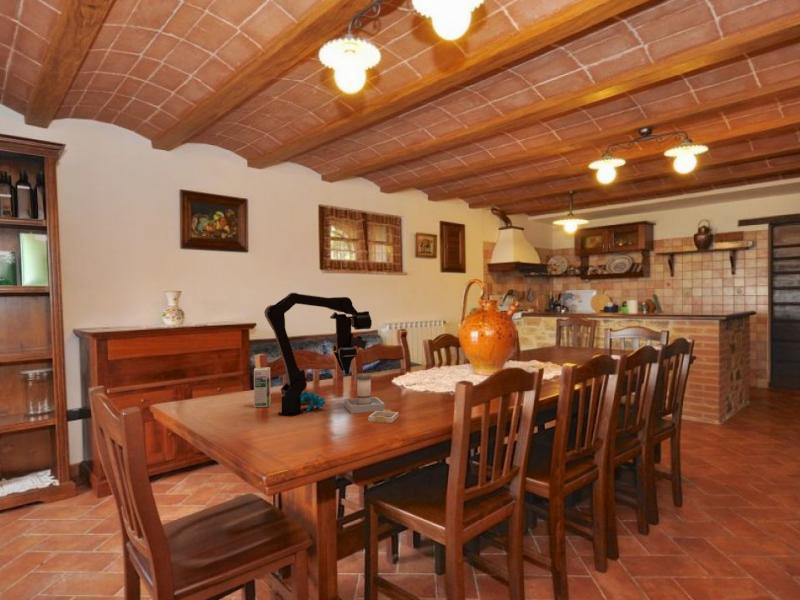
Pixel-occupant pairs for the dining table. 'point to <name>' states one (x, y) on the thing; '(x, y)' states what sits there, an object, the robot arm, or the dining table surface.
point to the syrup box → (261, 387)
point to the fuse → (363, 389)
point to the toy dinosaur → (311, 400)
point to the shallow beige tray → (383, 416)
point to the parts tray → (374, 406)
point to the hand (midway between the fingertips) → (344, 372)
